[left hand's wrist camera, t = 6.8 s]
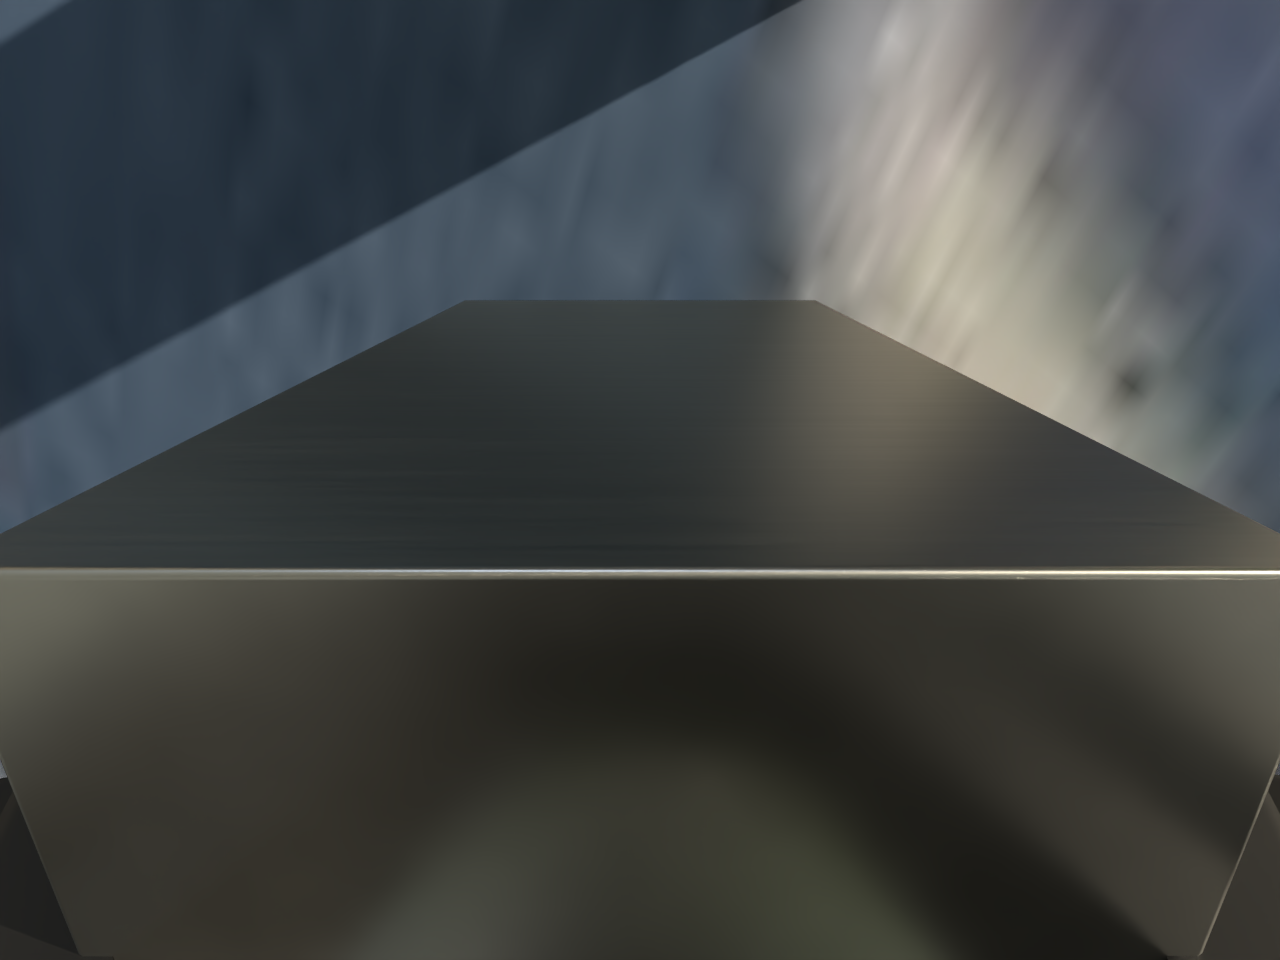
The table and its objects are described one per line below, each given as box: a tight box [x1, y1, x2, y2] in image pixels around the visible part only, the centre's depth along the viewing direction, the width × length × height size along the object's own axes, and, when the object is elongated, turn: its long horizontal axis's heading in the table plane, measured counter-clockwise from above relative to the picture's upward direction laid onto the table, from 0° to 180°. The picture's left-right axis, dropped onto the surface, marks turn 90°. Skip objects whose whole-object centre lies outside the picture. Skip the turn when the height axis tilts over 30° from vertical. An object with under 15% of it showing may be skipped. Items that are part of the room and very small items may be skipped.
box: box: [0, 300, 1280, 960], centre depth 14 cm, size 22×8×13 cm, turn 0°
